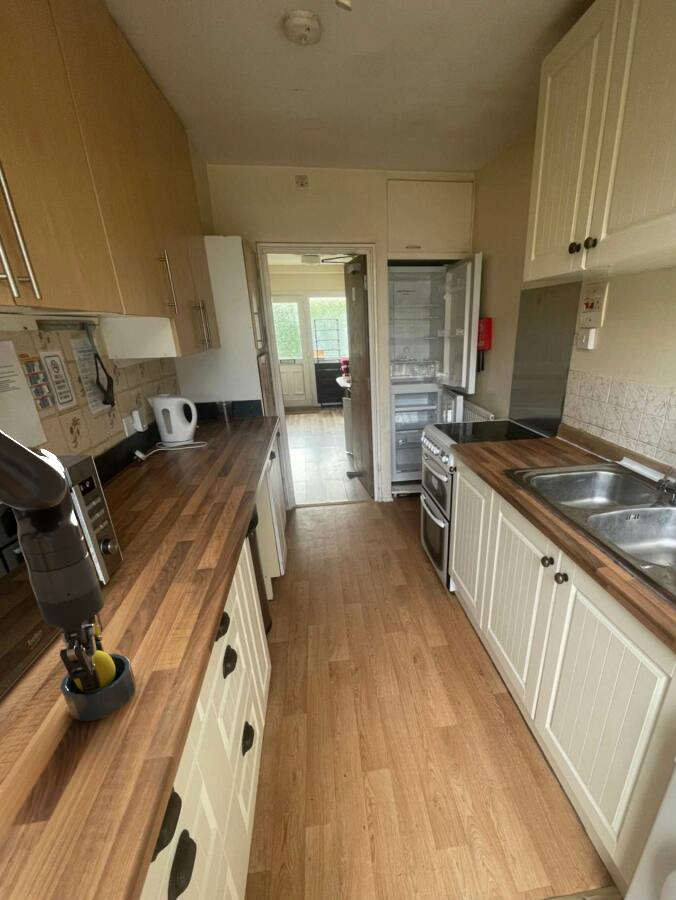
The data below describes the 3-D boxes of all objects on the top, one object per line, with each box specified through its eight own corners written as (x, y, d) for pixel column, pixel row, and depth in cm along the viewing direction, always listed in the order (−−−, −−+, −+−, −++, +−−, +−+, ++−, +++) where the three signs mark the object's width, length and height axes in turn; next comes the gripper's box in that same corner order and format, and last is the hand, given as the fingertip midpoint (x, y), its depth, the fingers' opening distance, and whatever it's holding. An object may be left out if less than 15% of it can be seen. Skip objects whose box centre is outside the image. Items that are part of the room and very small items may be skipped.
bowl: (56, 724, 66) (46, 698, 64) (91, 678, 75) (83, 654, 73) (118, 722, 67) (110, 696, 65) (146, 677, 76) (140, 653, 73)
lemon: (72, 701, 68) (58, 662, 65) (99, 675, 73) (87, 638, 70) (102, 707, 67) (89, 667, 64) (127, 681, 72) (117, 643, 69)
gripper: (89, 607, 58) (117, 700, 64) (103, 558, 69) (126, 640, 76) (20, 620, 55) (57, 716, 61) (47, 567, 67) (76, 652, 73)
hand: (95, 674), depth 69 cm, fingers closed on lemon, 5 cm apart
